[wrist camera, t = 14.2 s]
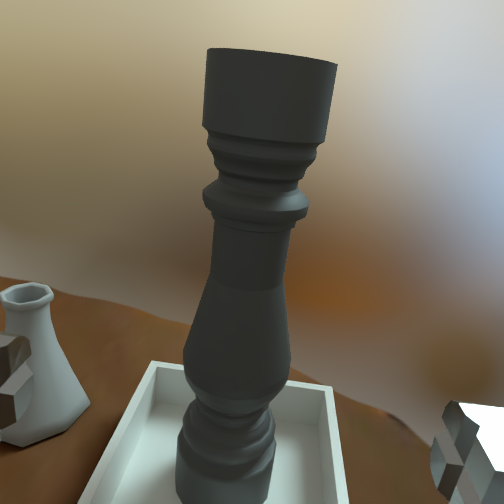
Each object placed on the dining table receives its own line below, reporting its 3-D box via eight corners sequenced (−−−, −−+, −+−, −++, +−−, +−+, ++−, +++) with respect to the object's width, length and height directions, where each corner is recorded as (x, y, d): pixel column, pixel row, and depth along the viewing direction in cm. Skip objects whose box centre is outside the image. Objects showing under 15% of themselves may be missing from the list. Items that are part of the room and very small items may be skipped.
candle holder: (181, 437, 30) (207, 54, 21) (267, 443, 30) (329, 69, 21) (166, 521, 24) (192, 41, 15) (272, 528, 24) (361, 63, 15)
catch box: (61, 596, 21) (57, 542, 19) (150, 401, 34) (151, 360, 32) (344, 644, 20) (361, 592, 19) (323, 427, 33) (332, 386, 32)
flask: (16, 466, 27) (0, 334, 23) (-40, 414, 30) (-62, 292, 27) (108, 405, 33) (106, 292, 29) (52, 367, 36) (44, 262, 33)
